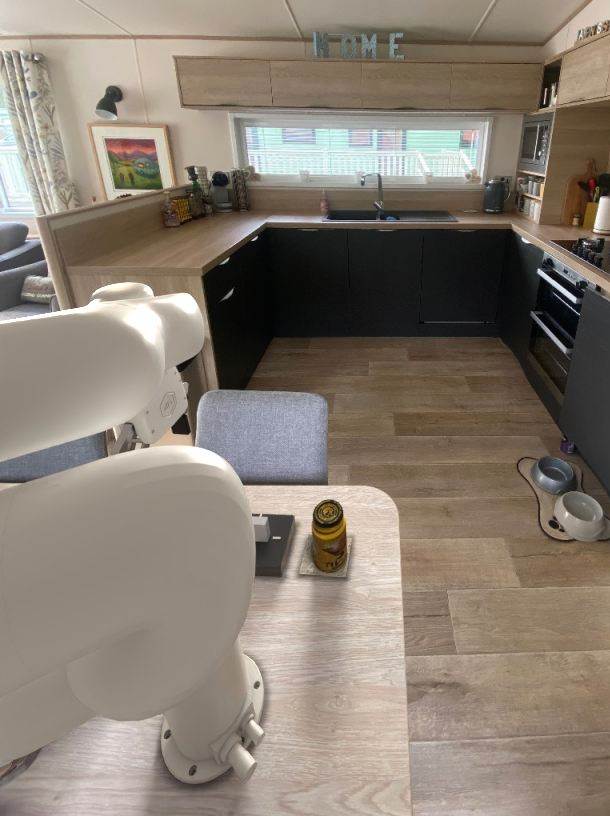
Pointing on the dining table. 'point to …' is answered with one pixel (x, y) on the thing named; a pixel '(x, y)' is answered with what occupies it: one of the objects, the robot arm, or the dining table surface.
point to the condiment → (327, 542)
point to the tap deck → (274, 545)
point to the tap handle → (261, 529)
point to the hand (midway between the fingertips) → (165, 453)
